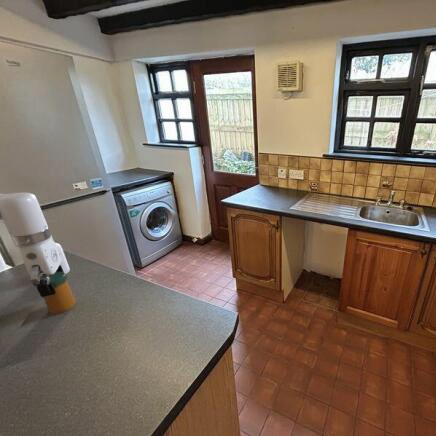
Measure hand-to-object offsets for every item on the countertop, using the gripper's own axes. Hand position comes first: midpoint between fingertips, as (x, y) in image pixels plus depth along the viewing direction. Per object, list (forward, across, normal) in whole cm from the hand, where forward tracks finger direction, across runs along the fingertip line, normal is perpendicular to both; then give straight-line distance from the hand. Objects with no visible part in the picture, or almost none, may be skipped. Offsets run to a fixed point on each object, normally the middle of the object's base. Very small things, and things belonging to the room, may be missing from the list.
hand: (54, 285), depth 75 cm
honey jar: (+8, 0, 0) cm, 8 cm away
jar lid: (-3, 0, 0) cm, 3 cm away
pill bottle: (+8, +23, +7) cm, 26 cm away
